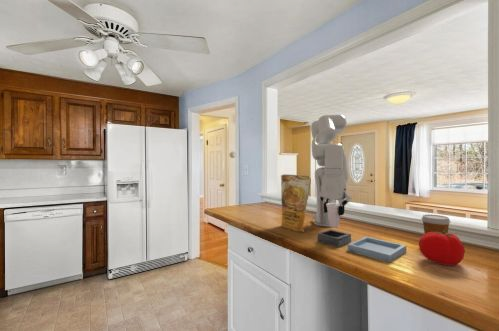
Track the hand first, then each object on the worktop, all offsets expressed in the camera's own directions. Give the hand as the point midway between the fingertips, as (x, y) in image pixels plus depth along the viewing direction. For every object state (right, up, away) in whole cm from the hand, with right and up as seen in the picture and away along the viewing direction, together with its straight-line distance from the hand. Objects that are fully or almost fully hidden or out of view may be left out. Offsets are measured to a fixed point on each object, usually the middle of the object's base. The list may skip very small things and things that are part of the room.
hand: (333, 213), depth 109 cm
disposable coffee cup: (+39, -12, -7) cm, 42 cm away
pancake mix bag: (-14, -12, +22) cm, 29 cm away
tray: (+12, -12, -12) cm, 21 cm away
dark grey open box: (0, -12, 0) cm, 12 cm away
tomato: (+29, -13, -23) cm, 39 cm away
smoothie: (0, -6, 0) cm, 6 cm away
